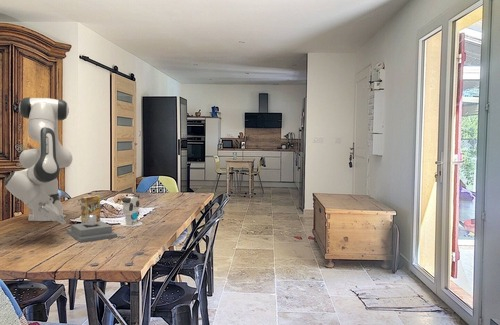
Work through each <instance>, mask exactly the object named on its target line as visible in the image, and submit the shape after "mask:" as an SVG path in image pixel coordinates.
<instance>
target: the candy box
mask: <svg viewBox="0 0 500 325" xmlns="http://www.w3.org/2000/svg"><path fill="white" fill-rule="evenodd" d="M80 212H81V213H80V217H81V218H80V220H81V223H80V224H82V223H86V215H88V214H96V222H98V221H101V196H100V195H89V196H83V197H82V196H81V197H80Z"/></svg>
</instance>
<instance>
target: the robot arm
mask: <svg viewBox="0 0 500 325" xmlns="http://www.w3.org/2000/svg"><path fill="white" fill-rule="evenodd" d="M18 111H19V114H20V116H22V117H23V118H24V119H27V121H28V122H27V134H28V136H29V137H30V138H31V139H32V140H33V141H36V142H37V143H38V144H39V148H29V149H25V150H23V151H22V152H21V153H20V154H19V157H18V158H19V164H20V165H21V166H22V167H23V168H24V169H22V170H14V171H12V172H11V173H10V174H9V176H7V177H6V180H5V181H4V187H5V188H6V189H7V191H8V192H10V194H12V195H13V196H14V197H15V198H17V199H18V200H20V201H22V202H23V204H24V205H25V206H27V207H28V208H29V212H30V214H28V218H27V219H28V220H27V221H29V222H51V221H52V222H58V223H59V224H61V225H62V226H64V225H66V224H67V221H66V220H65V218H66V217H67V216H66V214H63V213H64V212H63V202H61V201H60V193H59V180H58V177H59V175H60V170H61V169H64V168H69V167H70V166H71V164H72V162H73V155H72V153H71V151H70V150H68V149H67V148H65V147H64V146H63V145H62V143H61V142H60V139H59V126H58V123H59V121H64V120H65V119H67V117H68V115H69V113H70V108H69V104H68V103H67V102H66V101H65V100H64V99H63V100H62V99H56V98H49V97H30V96H29V97H24V98H22V99H21V100H20V102H19V105H18Z"/></svg>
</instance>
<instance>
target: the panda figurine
mask: <svg viewBox="0 0 500 325" xmlns="http://www.w3.org/2000/svg"><path fill="white" fill-rule="evenodd" d="M122 202H123V203H122V211H123V214H124V219H125V221H124V222H122V223H120V226H121V227H127V228H128V227H129V228H130V227H133V228H134V227H139V226H142V225H143V222H141V221H139V216H140V211H139V209H140V194H139V195H137V194H132V195H131V196H127V197H122Z"/></svg>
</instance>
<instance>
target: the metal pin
mask: <svg viewBox="0 0 500 325" xmlns="http://www.w3.org/2000/svg"><path fill="white" fill-rule="evenodd" d="M88 227H96V214H88V215H86V228H88Z"/></svg>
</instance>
